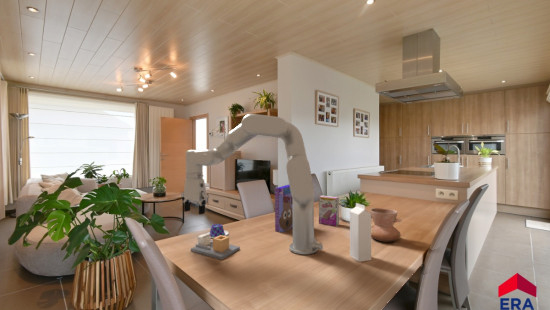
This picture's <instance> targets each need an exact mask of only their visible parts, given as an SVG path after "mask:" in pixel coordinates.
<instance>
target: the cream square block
mask: <svg viewBox="0 0 550 310" xmlns="http://www.w3.org/2000/svg"><path fill="white" fill-rule="evenodd" d="M210 240H211V238H210V234H206V233H203V234H200V235H197V244H201V245H205V246H207V245H209V244H210Z"/></svg>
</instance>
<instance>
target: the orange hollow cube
mask: <svg viewBox="0 0 550 310" xmlns="http://www.w3.org/2000/svg"><path fill="white" fill-rule="evenodd" d="M212 240H213V250H215V251H219V252H223V251H225V250H227V249H229V244H230V236H228V235H226V236H224V235H223V236H222V235H220V236H217V237H215V238H212Z"/></svg>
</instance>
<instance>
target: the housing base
mask: <svg viewBox="0 0 550 310" xmlns="http://www.w3.org/2000/svg"><path fill="white" fill-rule="evenodd" d="M240 248H241V247H240V246H238V245H234V244H231V243H229V249H227V250H225V251H223V252H219V251H215V250H213V239H210V244H209V245H207V246H205V245H201V244H198V243H195V246H193V247H191V248H190V252H193V253H195V254H200V255H202V256H203V255H204V256H207V257H210V258H214V259H219V260H224V259H225V258H227V257H228V256H230V255H233V254H234V253H235V252H238V251H239V250H241V249H240Z"/></svg>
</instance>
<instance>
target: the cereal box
mask: <svg viewBox="0 0 550 310" xmlns="http://www.w3.org/2000/svg"><path fill="white" fill-rule="evenodd" d="M274 227H275V228H274V230H275V231H274V232H276V233H277V232H278V233H282V234H283V233H285V232H286V231H288V230H290V229H293V198H292V195H291V191H290V185H289V184H286V185H282V186H278V187H275V188H274Z"/></svg>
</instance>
